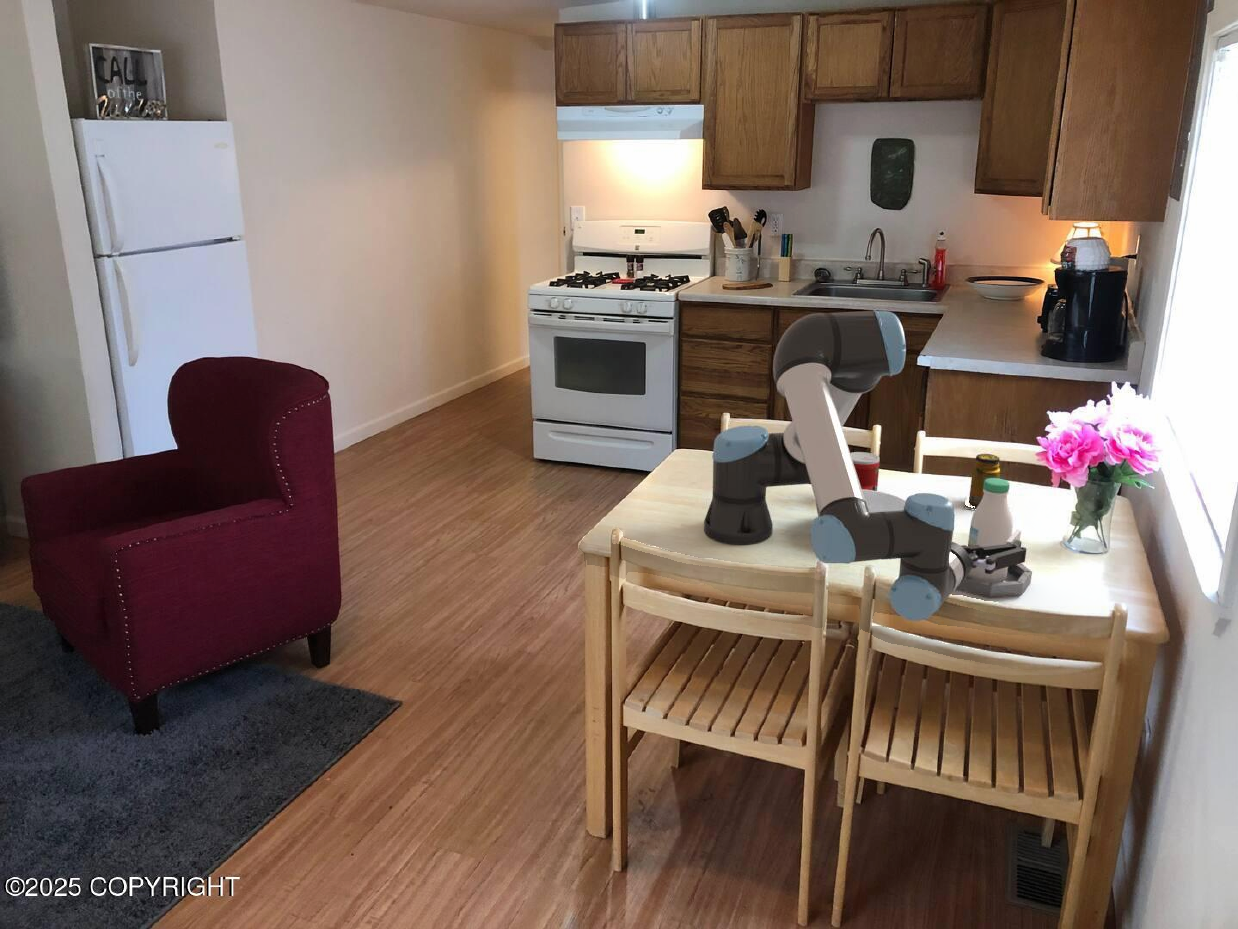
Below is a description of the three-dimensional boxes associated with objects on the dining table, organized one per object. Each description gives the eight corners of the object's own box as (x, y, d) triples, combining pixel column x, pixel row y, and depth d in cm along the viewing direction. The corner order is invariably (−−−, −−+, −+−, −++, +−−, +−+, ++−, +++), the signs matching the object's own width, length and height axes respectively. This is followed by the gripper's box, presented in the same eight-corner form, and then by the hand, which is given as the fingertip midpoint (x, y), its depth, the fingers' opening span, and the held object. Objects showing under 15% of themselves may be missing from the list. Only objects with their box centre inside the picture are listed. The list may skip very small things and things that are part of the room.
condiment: (998, 501, 229) (1004, 454, 225) (996, 513, 222) (1002, 464, 218) (966, 497, 232) (971, 450, 228) (963, 509, 224) (968, 461, 221)
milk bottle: (1012, 575, 189) (1024, 480, 183) (997, 588, 184) (1009, 491, 177) (973, 565, 194) (985, 471, 187) (958, 577, 188) (968, 482, 182)
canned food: (879, 505, 227) (883, 461, 224) (845, 505, 227) (848, 461, 224) (872, 494, 235) (875, 451, 231) (839, 494, 235) (842, 451, 231)
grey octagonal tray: (933, 583, 188) (934, 571, 187) (958, 556, 199) (960, 545, 198) (1014, 604, 179) (1016, 592, 178) (1036, 575, 190) (1038, 563, 190)
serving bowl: (892, 561, 198) (895, 530, 196) (799, 539, 209) (800, 509, 207) (924, 528, 214) (927, 499, 212) (836, 509, 225) (838, 482, 223)
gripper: (870, 570, 170) (912, 532, 186) (1016, 607, 156) (1048, 563, 172) (873, 531, 168) (916, 496, 184) (1021, 565, 154) (1053, 524, 170)
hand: (980, 528), depth 178 cm, fingers open, 13 cm apart
